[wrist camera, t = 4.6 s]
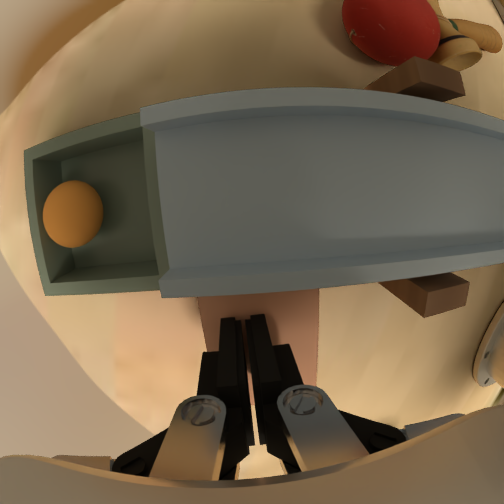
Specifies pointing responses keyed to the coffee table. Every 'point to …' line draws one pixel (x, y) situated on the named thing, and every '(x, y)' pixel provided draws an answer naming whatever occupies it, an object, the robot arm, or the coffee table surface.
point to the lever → (318, 200)
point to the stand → (439, 89)
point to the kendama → (416, 33)
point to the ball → (73, 214)
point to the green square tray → (114, 209)
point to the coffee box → (500, 7)
